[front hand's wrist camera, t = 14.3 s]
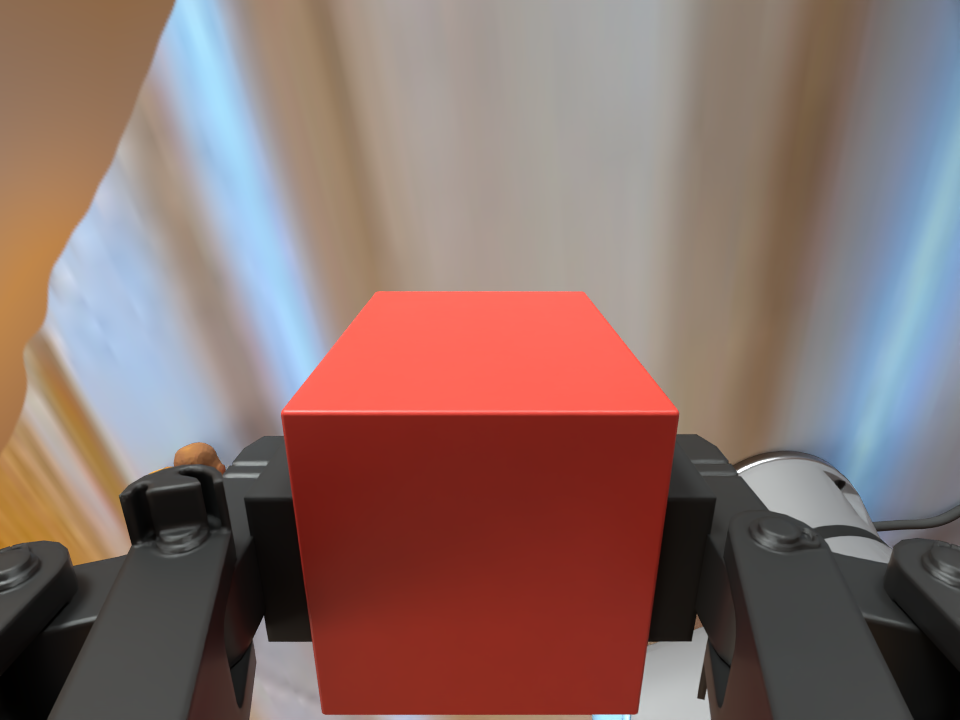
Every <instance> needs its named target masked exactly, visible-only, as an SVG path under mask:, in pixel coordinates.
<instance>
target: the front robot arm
mask: <svg viewBox="0 0 960 720" xmlns="http://www.w3.org/2000/svg"><path fill="white" fill-rule="evenodd" d="M119 498H120V502H121V506H122V510H123V513H124V517H125V521H126V525H127V528H128V532H129V536H130V540H131V544H132V546H131V548H130V550H129V552H128V554H127V555H123V556H119V557H115V558H110V559H105V560H100V561H95V562H90V563H85V564H81V565H76V566H73V565H72V561H71V558H70V555H69V552H68V549H67V548H66V547H64V546H63V545H62V544H60V543H59V542H51V541H37V542H29V543H21V544H17V545H13V546H12V547H10V546H9V547H6V548H3V549H0V720H249V717H250V709H251V701H252V693H253V685H254V677H255V669H256V657H255V650H254V644H253V637H254V635H255V633H256V631H257V629H258V627H259V625H260V622H261V620H262V618H263V616H264V618H265V624H266V630H267V635H268V641H269V642H312V636H311V629H310V621H309V614H308V607H307V599H306V592H305V585H304V578H303V570H302V563H301V556H300V548H299V541H298V534H297V527H296V519H295V512H294V505H293V498H292V490H291V483H290V476H289V468H288V461H287V454H286V447H285V439H284V436H264V437H262V438H260V439H259V440H257V441H255V442H254V443H252V444H251V445H249V446H247V447H246V448H244V449H243V450H242V452H241V453H240V454H239V455H238V457H237V458H236V459H235V460H234V461H233V463H232V466H229V467H228V469H227V470H226V471H225V472H224V474H223V477H222V473H221V472H220V471H218V470H217V469H216V468H214V467H211V466H206V465H201V464H193V465H179V466H175V467H170V468H165V469H162V470H159V471H156V472H154V473H151V474H148V475H146V476H143V477H142V478H140V479H138V480H137V481H135V482H133V483H132V484H130V485H129V486H128V487H127V488H126V489H125V490H124V491H123V492H122V493H121V494H120V495H119ZM959 517H960V505H958V506H957V507H955V508H953V509H951V510H949V511H948V512H946V513H944V514H941V515H939V516H936V517H932V518H927V519H920V520H895V521H881V522H872V521H871V519H870V517H869V515H868V512H867V510H866V508H865V506H864V504H863V502H862V500H861V498H860V496H859V494H858V493H857V491H856V490H855V488H854V487H853V486H852V484H851V483H850V482H849V480H848V479H847V478H846V477H845V476H844V475H842V474H841V473H840V472H839V471H838V470H837V469H835V468H834V467H833V466H832V465H830V464H829V463H827V462H826V461H824V460H822V459H820V458H818V457H816V456H813V455H810V454H806V453H801V452H794V451H778V452H770V453H765V454H760V455H757V456H754V457H751V458H748V459H746V460H743V461H741V462H739V463H737V464H736V465H734V466H732V465H731V464H729V463H728V460H727V459H726V457H725V456H724V455H723V454H722V453H721V451H720V450H719V449H718V448H717V447H716V446H715V445H713V444H711V443H710V442H708V441H706V440H705V439H703V438H702V437H700V436H698V435H697V434H676V441H675V448H674V456H673V463H672V470H671V477H670V485H669V492H668V499H667V506H666V514H665V521H664V528H663V536H662V543H661V550H660V557H659V565H658V572H657V579H656V586H655V594H654V601H653V608H652V616H651V623H650V630H649V637H648V642H657V643H655V644H652V645H647V652H646V659H645V667H644V674H643V681H642V688H641V696H640V703H639V710H638V713H637V714H635V715H592V720H960V546H957V545H954V544H949V543H947V542H943V541H937V540H928V539H920V538H915V539H907V540H902V541H900V542H899V543H898V544H896V545H895V546H894V547H893V550H892V549H891V548H890V547H889V546H888V545H887V544H886V543H884V542H883V541H882V540H881V539H880V537H879V535H878V533H877V531H890V530H904V529H926V528H933V527H938V526H942V525H945V524H947V523H950V522H952V521H954V520H956V519H958V518H959ZM696 614H697V615H698V617H699V619H700V621H701V623H702V625H703V627H701V628H698V629H695V630H694V626H695V620H696Z"/></svg>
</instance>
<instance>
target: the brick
mask: <svg viewBox="0 0 960 720" xmlns="http://www.w3.org/2000/svg"><path fill="white" fill-rule="evenodd" d="M281 417H282V425H283V432H284V439H285V447H286V454H287V461H288V468H289V476H290V483H291V490H292V498H293V505H294V512H295V519H296V527H297V534H298V541H299V548H300V556H301V563H302V570H303V578H304V585H305V592H306V599H307V607H308V614H309V621H310V629H311V636H312V643H313V650H314V658H315V665H316V672H317V679H318V687H319V694H320V701H321V709H322V713H323V714H325V715H635V714H637V713H638V710H639V703H640V696H641V688H642V681H643V674H644V667H645V659H646V652H647V645H648V637H649V630H650V623H651V616H652V608H653V601H654V594H655V586H656V579H657V572H658V565H659V557H660V550H661V543H662V536H663V528H664V521H665V514H666V506H667V499H668V492H669V485H670V477H671V470H672V463H673V456H674V448H675V441H676V434H677V426H678V419H679V412H678V410H677V408H676V407H675V406H674V405H673V403H672V402H671V401H670V400H669V398H668V397H667V396H666V395H665V393H664V392H663V391H662V390H661V388H660V387H659V386H658V385H657V383H656V382H655V381H654V380H653V378H652V377H651V376H650V374H649V373H648V372H647V371H646V369H645V368H644V367H643V366H642V364H641V363H640V362H639V361H638V359H637V358H636V357H635V356H634V354H633V353H632V352H631V351H630V349H629V348H628V347H627V346H626V344H625V343H624V342H623V341H622V339H621V338H620V337H619V335H618V334H617V333H616V332H615V330H614V329H613V328H612V327H611V325H610V324H609V323H608V322H607V320H606V319H605V318H604V317H603V315H602V314H601V313H600V312H599V310H598V309H597V308H596V307H595V305H594V304H593V303H592V301H591V300H590V299H589V298H588V296H587V295H586V294H585V293H584V292H376V293H375V294H374V295H373V297H372V298H371V299H370V300H369V302H368V303H367V304H366V305H365V307H364V308H363V309H362V310H361V312H360V313H359V314H358V316H357V317H356V318H355V319H354V321H353V322H352V323H351V324H350V326H349V327H348V328H347V329H346V331H345V332H344V333H343V334H342V336H341V337H340V338H339V339H338V341H337V342H336V343H335V345H334V346H333V347H332V348H331V350H330V351H329V352H328V353H327V355H326V356H325V357H324V358H323V360H322V361H321V362H320V363H319V365H318V366H317V367H316V368H315V370H314V371H313V372H312V373H311V375H310V376H309V377H308V379H307V380H306V381H305V382H304V384H303V385H302V386H301V387H300V389H299V390H298V391H297V392H296V394H295V395H294V396H293V397H292V399H291V400H290V401H289V402H288V404H287V405H286V406H285V408H284V409H283V410H282V412H281Z"/></svg>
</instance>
